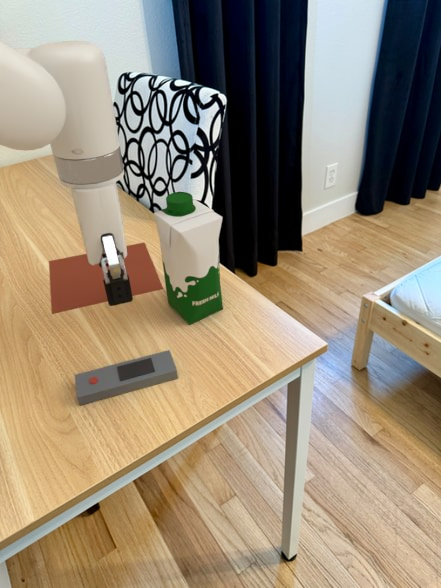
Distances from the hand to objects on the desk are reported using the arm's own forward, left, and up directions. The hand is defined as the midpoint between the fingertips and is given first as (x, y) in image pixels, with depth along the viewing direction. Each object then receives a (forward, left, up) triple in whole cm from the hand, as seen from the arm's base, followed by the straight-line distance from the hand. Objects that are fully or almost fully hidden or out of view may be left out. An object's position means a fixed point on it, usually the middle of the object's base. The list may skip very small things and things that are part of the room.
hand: (115, 282), depth 61 cm
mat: (-1, +22, -13) cm, 25 cm away
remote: (-1, -7, -13) cm, 14 cm away
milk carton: (+13, +6, -13) cm, 19 cm away
